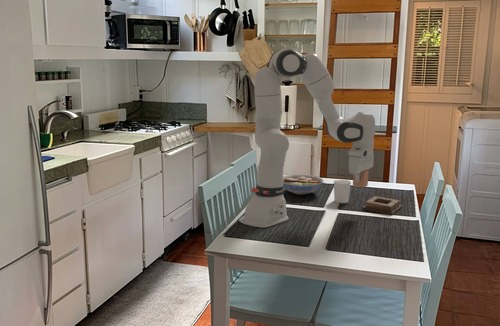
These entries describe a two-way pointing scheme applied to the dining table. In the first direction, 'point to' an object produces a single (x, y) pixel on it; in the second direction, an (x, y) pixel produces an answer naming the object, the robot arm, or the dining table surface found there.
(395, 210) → the walnut socket base
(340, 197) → the white cup
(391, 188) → the dining table surface
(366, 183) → the terracotta block
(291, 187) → the ramen bowl
